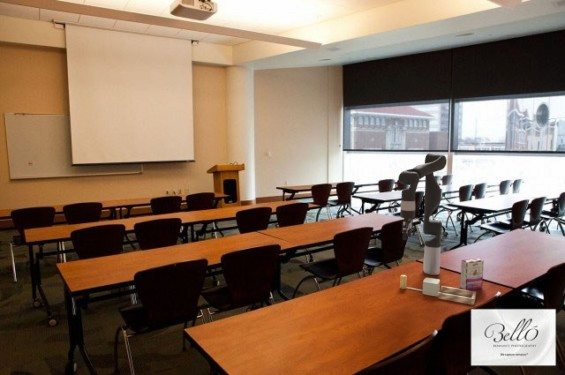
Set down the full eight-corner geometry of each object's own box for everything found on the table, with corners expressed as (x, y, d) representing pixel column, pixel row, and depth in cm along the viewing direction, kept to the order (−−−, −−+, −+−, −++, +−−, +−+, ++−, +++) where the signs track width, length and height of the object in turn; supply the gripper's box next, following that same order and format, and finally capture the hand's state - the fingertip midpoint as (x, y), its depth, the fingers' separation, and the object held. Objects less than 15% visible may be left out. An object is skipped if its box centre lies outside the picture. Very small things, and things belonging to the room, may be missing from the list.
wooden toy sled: (437, 298, 215) (438, 292, 215) (441, 290, 225) (441, 285, 224) (473, 304, 207) (473, 299, 206) (475, 297, 216) (476, 291, 216)
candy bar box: (476, 285, 233) (477, 257, 231) (482, 288, 228) (484, 260, 226) (459, 287, 230) (461, 259, 228) (465, 290, 225) (467, 262, 223)
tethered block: (398, 289, 227) (398, 277, 226) (401, 285, 234) (402, 273, 233) (437, 296, 217) (437, 284, 216) (439, 291, 224) (440, 279, 223)
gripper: (411, 211, 211) (410, 242, 213) (417, 207, 223) (416, 236, 225) (397, 210, 215) (396, 240, 217) (404, 206, 227) (403, 234, 229)
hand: (406, 238), depth 221 cm, fingers open, 8 cm apart
